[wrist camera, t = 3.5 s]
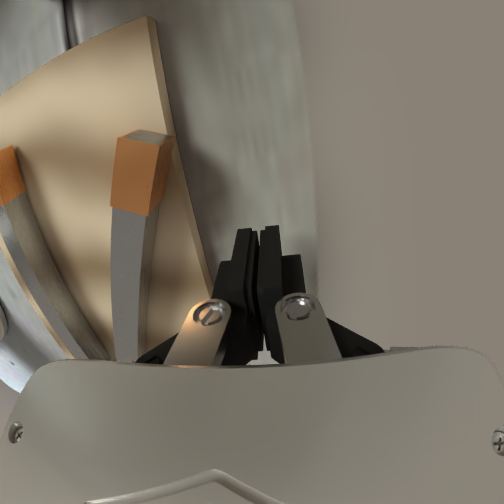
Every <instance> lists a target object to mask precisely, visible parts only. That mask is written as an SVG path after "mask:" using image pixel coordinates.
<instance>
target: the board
mask: <svg viewBox="0 0 504 504" xmlns="http://www.w3.org/2000/svg"><path fill="white" fill-rule="evenodd" d="M137 129H142V130H147V131H152V132H157V133H161V134H166V135H171V136H175V141H174V146H173V150H172V155H171V160H170V165H169V170H168V175H167V180H166V185H165V191H164V197H163V199H162V200H161V201H160V207H159V213H158V220H157V226H156V234H155V241H154V249H153V257H152V266H151V276H150V286H149V298H148V312H147V328H146V352H145V353H147V352H148V351H150V350H151V349H153V348H155V347H156V346H158V345H159V344H161V343H163V342H164V341H166V340H167V339H169V338H171V337H172V336H174V335H175V334H177V333H178V332H179V331H180V329H181V327H182V326H183V324H184V322H185V320H186V318H187V316H188V314H189V312H190V310H191V309H192V308H193V307H194V306H195V305H196V304H198V303H200V302H202V301H204V300H208V299H211V297H212V293H213V289H214V288H213V284H212V281H211V277H210V273H209V270H208V266H207V262H206V259H205V255H204V251H203V247H202V244H201V240H200V236H199V232H198V228H197V224H196V220H195V216H194V212H193V208H192V204H191V200H190V196H189V191H188V187H187V183H186V179H185V174H184V170H183V165H182V161H181V156H180V152H179V147H178V143H177V138H176V133H175V128H174V123H173V119H172V114H171V109H170V103H169V98H168V93H167V88H166V82H165V77H164V71H163V65H162V59H161V53H160V47H159V41H158V34H157V28H156V21H155V20H154V19H152V18H150V17H148V16H144V17H141V18H138V19H135V20H133V21H130V22H127V23H125V24H122V25H120V26H118V27H115V28H113V29H111V30H108V31H106V32H104V33H102V34H99V35H97V36H95V37H93V38H91V39H89V40H87V41H85V42H83V43H81V44H79V45H77V46H75V47H74V48H72V49H70V50H68V51H66V52H65V53H63V54H61V55H59V56H58V57H56V58H54V59H53V60H51V61H49V62H48V63H46V64H45V65H43V66H41V67H40V68H38V69H37V70H35V71H34V72H32V73H31V74H29V75H28V76H27V77H25V78H24V79H22V80H21V81H20V82H18V83H17V84H15V85H14V86H13V87H11V88H10V89H9V90H8V91H6V92H5V93H4V94H3V95H1V96H0V150H2V149H4V148H7V147H9V146H11V145H13V148H14V151H15V155H16V159H17V163H18V166H19V169H20V173H21V176H22V179H23V182H24V186H25V189H26V191H25V193H26V196H27V199H28V202H29V205H30V207H31V210H32V213H33V215H34V218H35V220H36V223H37V225H38V228H39V230H40V233H41V235H42V237H43V240H44V242H45V244H46V246H47V248H48V251H49V253H50V255H51V257H52V259H53V261H54V263H55V265H56V267H57V269H58V271H59V273H60V275H61V277H62V279H63V281H64V283H65V285H66V287H67V289H68V290H69V292H70V294H71V296H72V298H73V299H74V301H75V303H76V305H77V306H78V308H79V310H80V311H81V313H82V315H83V316H84V318H85V320H86V321H87V323H88V325H89V326H90V328H91V329H92V331H93V332H94V334H95V335H96V337H97V338H98V340H99V341H100V343H101V344H102V346H103V347H104V349H105V350H106V352H107V353H108V355H109V356H110V357H111V360H110V361H116V354H115V345H114V334H113V321H112V305H111V270H110V258H111V223H112V207H110V199H111V187H112V177H113V167H114V159H115V151H116V144H117V138H118V137H120V136H122V135H124V134H127V133H129V132H132V131H135V130H137ZM0 247H1V249H2V251H3V253H4V255H5V257H6V259H7V261H8V263H9V265H10V267H11V269H12V271H13V273H14V275H15V277H16V279H17V280H18V282H19V284H20V286H21V288H22V289H23V291H24V293H25V295H26V296H27V298H28V300H29V301H30V303H31V305H32V306H33V308H34V309H35V311H36V312H37V314H38V316H39V317H40V319H41V320H42V322H43V323H44V325H45V326H46V328H47V329H48V330H49V332H50V333H51V335H52V336H53V338H54V339H55V340H56V342H57V343H58V344H59V346H60V347H61V348H62V350H63V351H64V352H65V354H66V355H67V356H68V358H69V359H75V358H74V357H73V356H72V354H71V353H70V352H69V350H68V349H67V348H66V346H65V345H64V344H63V342H62V341H61V339H60V338H59V337H58V335H57V334H56V332H55V331H54V329H53V328H52V326H51V325H50V323H49V322H48V320H47V319H46V317H45V316H44V314H43V313H42V311H41V310H40V308H39V306H38V305H37V303H36V301H35V300H34V298H33V296H32V295H31V293H30V291H29V290H28V288H27V286H26V284H25V282H24V281H23V279H22V277H21V275H20V273H19V271H18V269H17V267H16V265H15V263H14V261H13V259H12V257H11V255H10V253H9V251H8V249H7V247H6V245H5V242H4V240H3V238H2V236H1V233H0Z"/></svg>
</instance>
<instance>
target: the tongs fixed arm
mask: <svg viewBox="0 0 504 504" xmlns="http://www.w3.org/2000/svg"><path fill="white" fill-rule="evenodd" d="M25 191H26V189H25V186H24V182H23V179H22V176H21V173H20V169H19V166H18V163H17V159H16V155H15V151H14V148H13V145H11V146H9V147H7V148H4V149H2V150H0V233H1V236H2V238H3V240H4V242H5V245H6V247H7V249H8V251H9V253H10V255H11V257H12V259H13V261H14V263H15V265H16V267H17V269H18V271H19V273H20V275H21V277H22V279H23V281H24V282H25V284H26V286H27V288H28V290H29V291H30V293H31V295H32V296H33V298H34V300H35V301H36V303H37V305H38V306H39V308H40V310H41V311H42V313H43V314H44V316H45V317H46V319H47V320H48V322H49V323H50V325H51V326H52V328H53V329H54V331H55V332H56V334H57V335H58V337H59V338H60V339H61V341H62V342H63V344H64V345H65V346H66V348H67V349H68V350H69V352H70V353H71V354H72V356H73V357H74V358H75V359H93V360H106V361H110V360H111V357H110V356H109V355H108V353H107V352H106V350H105V349H104V347H103V346H102V344H101V343H100V341H99V340H98V338H97V337H96V335H95V334H94V332H93V331H92V329H91V328H90V326H89V325H88V323H87V321H86V320H85V318H84V316H83V315H82V313H81V311H80V310H79V308H78V306H77V305H76V303H75V301H74V299H73V298H72V296H71V294H70V292H69V290H68V289H67V287H66V285H65V283H64V281H63V279H62V277H61V275H60V273H59V271H58V269H57V267H56V265H55V263H54V261H53V259H52V257H51V255H50V253H49V251H48V248H47V246H46V244H45V242H44V240H43V237H42V235H41V233H40V230H39V228H38V225H37V223H36V220H35V218H34V215H33V213H32V210H31V207H30V205H29V202H28V199H27V196H26V193H25Z"/></svg>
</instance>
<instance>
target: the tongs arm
mask: <svg viewBox="0 0 504 504" xmlns="http://www.w3.org/2000/svg"><path fill="white" fill-rule="evenodd" d="M174 141H175V136H171V135H166V134H161V133H157V132H152V131H147V130H142V129H137V130H135V131H132V132H129V133H127V134H124V135H122V136H120V137H118V138H117V144H116V151H115V159H114V167H113V177H112V187H111V199H110V207H112V223H111V258H110V270H111V305H112V321H113V334H114V345H115V354H116V361H121V360H129V359H133V361H134V362H136V361H137V359H138V358H139V357H141V356H142V355H143V354H145V352H146V328H147V312H148V298H149V286H150V276H151V266H152V257H153V249H154V241H155V234H156V226H157V220H158V213H159V207H160V201H161V200H162V199H163V197H164V191H165V185H166V180H167V175H168V170H169V165H170V160H171V155H172V150H173V146H174Z"/></svg>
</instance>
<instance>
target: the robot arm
mask: <svg viewBox="0 0 504 504" xmlns="http://www.w3.org/2000/svg"><path fill="white" fill-rule="evenodd" d="M7 330H8V325H7V321H6V317H5V315H4V312H3V310H2V308H1V305H0V339H2V338H3V337H4V336H5V334H6V333H7ZM264 336H265V342H266V347H267V351H270V352H271V358H273V359H274V360H275V361H277V362H278V363H280V364H269V365H246V364H247V363H248V362H250V361H251V360H258V351H263V341H264ZM0 504H504V377H503V375H502V374H501V372H500V371H499V369H498V368H497V366H496V365H495V363H494V362H493V361H492V360H491V359H490V358H489V357H488V356H486V355H485V354H483V353H482V352H480V351H477V350H474V349H470V348H467V347H458V346H429V347H391V348H390V350H383V349H382V348H381V347H380V346H379V345H377V344H376V343H374V342H372V341H370V340H368V339H366V338H364V337H362V336H360V335H358V334H356V333H355V332H353V331H351V330H349V329H347V328H345V327H343V326H341V325H339V324H338V323H336V322H334V321H332V320H330V319H328V318H326V316H325V314H324V311H323V309H322V307H321V304H320V302H319V301H318V299H317V298H315V297H314V296H312V295H310V294H307V293H306V290H305V283H304V276H303V269H302V262H301V256H300V254H298V255H287V256H282V251H281V241H280V232H279V225H275V226H265V230H261V231H260V246H259V241H258V234H257V231H252V229H251V228H245V229H238V231H237V235H236V240H235V245H234V249H233V254H232V259H231V260H230V261H221V263H220V266H219V269H218V273H217V277H216V281H215V285H214V289H213V293H212V297H211V299H208V300H204V301H202V302H200V303H198V304H196V305H195V306H194V307H193V308H192V309H191V310H190V312H189V314H188V316H187V318H186V320H185V322H184V324H183V326H182V327H181V329H180V331H179V332H178V333H177V334H175V335H174V336H172V337H171V338H169V339H167V340H166V341H164V342H163V343H161V344H159V345H158V346H156V347H155V348H153V349H151V350H150V351H148V352H147V353H145V354H143V355H142V356H141V357H139V358H138V359H137V361H136V362H134V361H133V359H129V360H121V361H106V360H93V359H65V360H59V361H55V362H51V363H48V364H45V365H43V366H41V367H40V368H38V369H37V370H36V371H35V372H34V373H33V375H32V376H31V378H30V379H29V381H28V382H27V384H26V385H25V387H24V389H23V390H22V392H21V394H20V396H19V398H18V400H17V402H16V404H15V406H14V408H13V410H12V413H11V414H10V417H9V419H8V422H7V424H6V426H5V429H4V432H3V434H2V437H1V439H0Z"/></svg>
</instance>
